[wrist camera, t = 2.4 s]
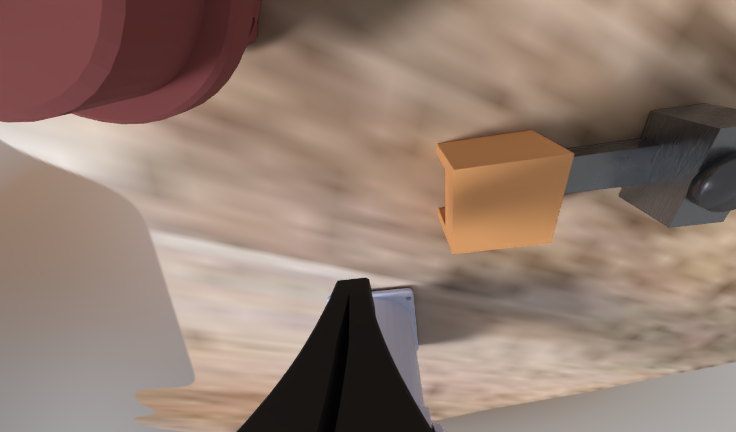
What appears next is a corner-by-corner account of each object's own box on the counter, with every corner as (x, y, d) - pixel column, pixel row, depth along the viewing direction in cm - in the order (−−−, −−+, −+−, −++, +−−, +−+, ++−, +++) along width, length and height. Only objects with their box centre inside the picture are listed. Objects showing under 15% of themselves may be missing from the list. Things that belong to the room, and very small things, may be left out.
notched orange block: (519, 206, 21) (551, 243, 17) (438, 216, 21) (452, 254, 18) (531, 129, 18) (574, 153, 14) (437, 143, 18) (454, 170, 14)
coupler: (664, 190, 20) (740, 229, 16) (526, 207, 21) (564, 248, 17) (706, 103, 17) (813, 123, 13) (540, 127, 18) (592, 153, 13)
